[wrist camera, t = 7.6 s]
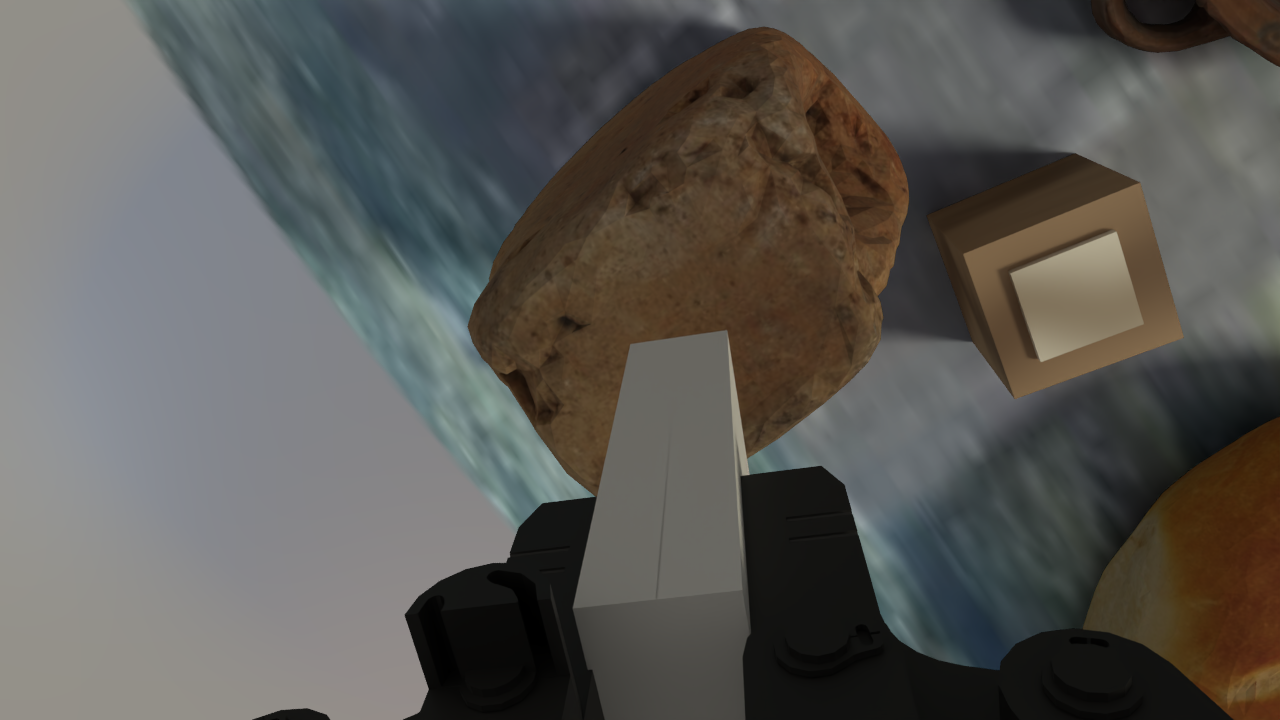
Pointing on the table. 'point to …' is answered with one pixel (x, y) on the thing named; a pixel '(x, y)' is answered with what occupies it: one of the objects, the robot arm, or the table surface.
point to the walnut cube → (1057, 273)
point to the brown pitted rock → (702, 247)
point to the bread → (1208, 577)
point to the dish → (1197, 26)
